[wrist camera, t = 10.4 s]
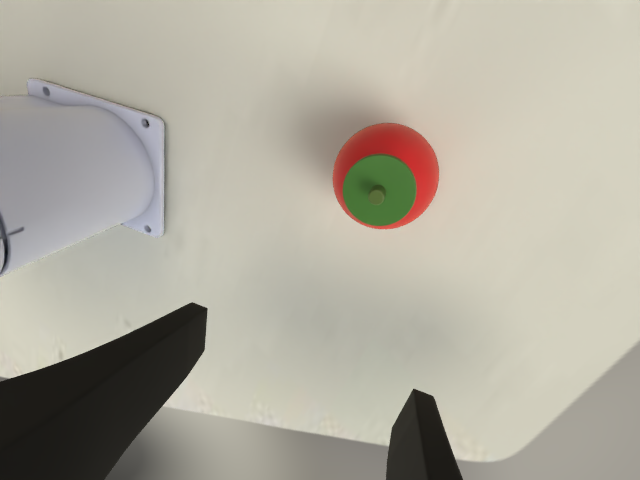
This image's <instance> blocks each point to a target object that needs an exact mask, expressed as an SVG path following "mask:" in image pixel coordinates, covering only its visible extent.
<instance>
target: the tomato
mask: <svg viewBox="0 0 640 480" xmlns="http://www.w3.org/2000/svg"><path fill="white" fill-rule="evenodd" d="M438 181H439V167H438V162H437V158H436V155H435V153H434V151H433V149H432V147H431V146H430V144H429V143H428V142H427V140H426V139H425V138H424V137H423V136H422V135H420V134H419V133H418V132H416V131H415V130H413V129H411V128H409V127H406V126H404V125H400V124H395V123H381V124H376V125H372V126H369V127H366V128H364V129H362V130H360V131H359V132H357V133H356V134H354V135H353V136H352V137H351V138H350V139H349V140H348V141H347V142H346V143H345V144H344V146H343V147H342V149H341V150H340V152H339V154H338V156H337V158H336V161H335V164H334V170H333V187H334V192H335V195H336V198H337V200H338V202H339V204H340V205H341V207H342V208H343V210H344V211H345V212H346V213H347V214H348V215H349V216H350V217H351V218H352V219H354V220H355V221H357V222H358V223H360V224H362V225H365V226H367V227H371V228H375V229H392V228H397V227H400V226H403V225H406V224H408V223H410V222H412V221H413V220H415V219H416V218H418V217H419V216H420V215H421V214H422V213H423V212H424V211H425V210H426V209H427V207H428V206H429V204H430V203H431V202H432V200H433V198H434V196H435V193H436V190H437V186H438Z"/></svg>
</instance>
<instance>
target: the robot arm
mask: <svg viewBox="0 0 640 480" xmlns="http://www.w3.org/2000/svg"><path fill="white" fill-rule="evenodd" d="M27 88H28V94H29V95H14V96H0V277H1V276H4V275H6V274H8V273H11V272H13V271H15V270H17V269H20V268H22V267H24V266H26V265H29V264H31V263H33V262H35V261H38V260H40V259H42V258H45V257H47V256H49V255H51V254H54V253H56V252H58V251H60V250H63V249H65V248H67V247H69V246H72V245H74V244H76V243H78V242H81V241H83V240H85V239H88V238H90V237H92V236H94V235H97V234H99V233H101V232H103V231H106V230H108V229H110V228H112V227H115V226H117V225H119V224H121V225H123V226H126V227H129V228H131V229H134V230H137V231H139V232H142V233H145V234H147V235H150V236H153V237H156V238H158V237H160V236H162V235H163V234H164V137H165V127H164V123H163V121H162V120H161V118H159V117H157V116H155V115H151V114H148V113H145V112H142V111H139V110H136V109H132V108H129V107H126V106H123V105H120V104H116V103H113V102H110V101H107V100H104V99H101V98H97V97H94V96H91V95H88V94H85V93H81V92H78V91H75V90H72V89H69V88H66V87H62V86H59V85H56V84H53V83H50V82H47V81H43V80H40V79H34V78H30V79H28V81H27ZM147 120H148V122H149V126H148V125H147V122H146V121H147ZM149 227H150V228H151V229H150V228H149ZM207 309H208V308H205V307H203V306H200V305H198V304H195V303H189V304H187V305H185V306H183V307H181V308H179V309H177V310H175V311H173V312H171V313H169V314H167V315H165V316H163V317H161V318H159V319H157V320H155V321H153V322H151V323H149V324H147V325H145V326H143V327H141V328H139V329H137V330H135V331H133V332H130V333H128V334H126V335H124V336H122V337H120V338H118V339H115V340H113V341H111V342H108V343H106V344H104V345H102V346H99V347H97V348H95V349H92V350H90V351H88V352H85V353H83V354H80V355H78V356H75V357H73V358H70V359H67V360H65V361H62V362H59V363H56V364H54V365H51V366H48V367H45V368H42V369H39V370H36V371H33V372H30V373H27V374H24V375H20V376H17V377H14V378H11V379H8V380H5V381H1V382H0V480H104V479H105V478H106V476H107V475H108V474H109V472H110V471H111V469H112V468H113V467H114V465H115V464H116V463H117V461H118V460H119V458H120V457H121V456H122V454H123V453H124V451H125V450H126V449H127V448H128V446H129V445H130V444H131V442H132V441H133V440H134V439H135V438H136V436H137V435H138V434H139V433H140V432H141V430H142V429H143V428H144V427H145V426H146V425H147V423H148V422H149V421H150V420H151V419H152V417H153V416H154V415H155V414H156V413H157V412H158V410H159V409H160V408H161V407H162V406H163V405H164V403H165V402H166V401H167V400H168V399H169V398H170V396H171V395H172V394H173V393H174V392H175V390H176V389H177V388H178V387H179V386H180V384H181V383H182V382H183V381H184V380H185V378H186V377H187V376H188V374H189V373H190V371H191V370H192V368H193V367H194V366H195V364H196V363H197V361H198V359H199V358H200V356H201V355H202V353H203V352H204V349H205V336H206V322H207ZM386 480H463V478H462V476H461V473H460V470H459V468H458V466H457V463H456V460H455V457H454V455H453V452H452V449H451V446H450V444H449V441H448V438H447V435H446V432H445V429H444V426H443V423H442V420H441V417H440V414H439V411H438V408H437V405H436V402H435V399H434V397H433V396H431V395H429V394H426V393H424V392H421V391H418V390H416V389H413V391H412V392H411V394H410V396H409V398H408V400H407V401H406V403H405V405H404V407H403V409H402V411H401V412H400V414H399V416H398V418H397V420H396V422H395V423H394V425H393V427H392V432H391V438H390V445H389V452H388V459H387V472H386Z"/></svg>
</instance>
